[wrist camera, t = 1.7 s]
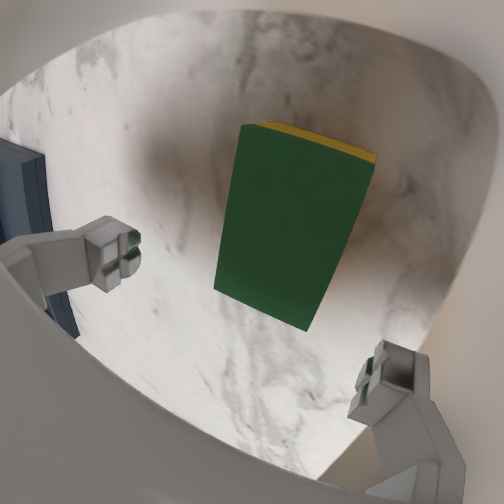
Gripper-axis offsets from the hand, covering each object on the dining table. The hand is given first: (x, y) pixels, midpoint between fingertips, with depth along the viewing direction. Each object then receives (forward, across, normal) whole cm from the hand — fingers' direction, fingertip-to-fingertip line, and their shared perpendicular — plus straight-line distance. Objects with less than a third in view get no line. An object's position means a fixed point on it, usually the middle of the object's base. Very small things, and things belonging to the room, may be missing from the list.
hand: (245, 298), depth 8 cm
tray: (+6, +31, +13) cm, 34 cm away
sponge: (+6, 0, -1) cm, 6 cm away
